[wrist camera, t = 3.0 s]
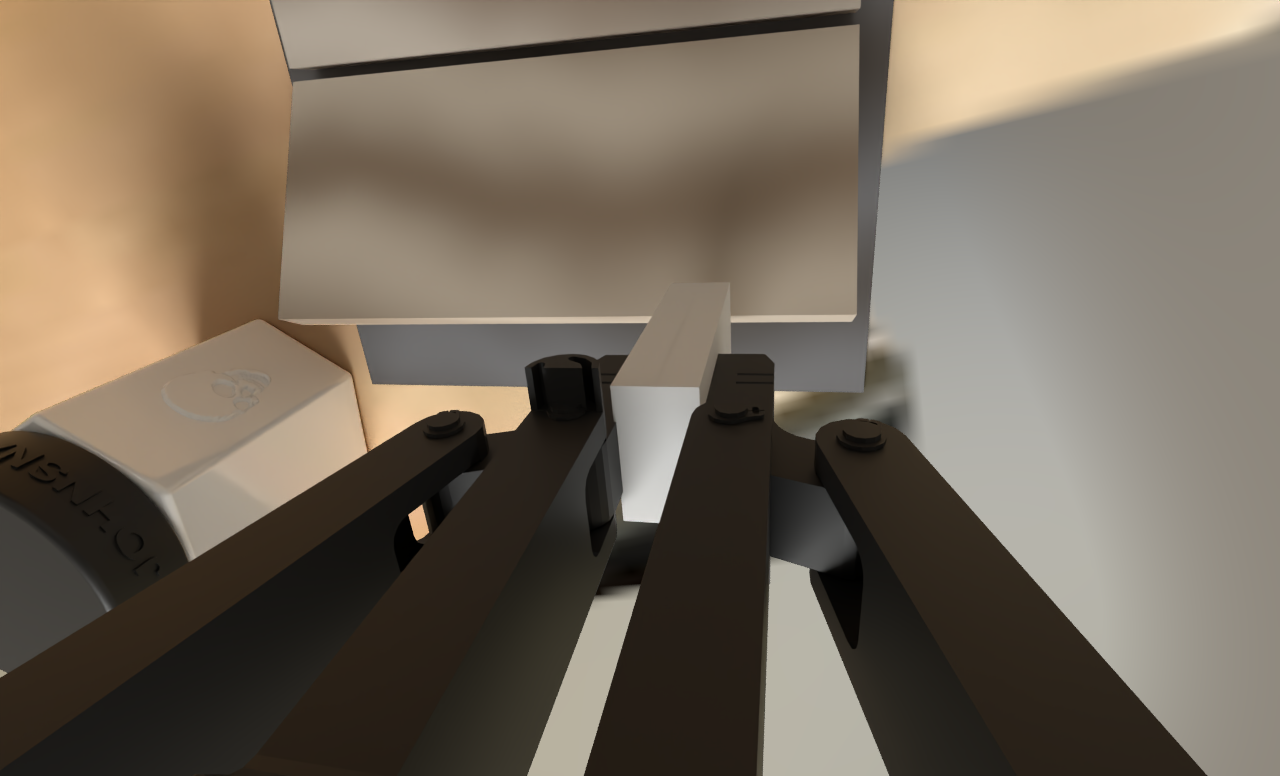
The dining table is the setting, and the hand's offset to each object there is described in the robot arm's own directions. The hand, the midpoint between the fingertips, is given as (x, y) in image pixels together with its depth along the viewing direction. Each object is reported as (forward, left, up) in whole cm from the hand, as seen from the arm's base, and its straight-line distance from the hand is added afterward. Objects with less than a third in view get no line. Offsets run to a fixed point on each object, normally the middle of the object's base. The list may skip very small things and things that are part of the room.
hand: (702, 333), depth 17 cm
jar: (+6, -20, -7) cm, 22 cm away
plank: (-3, -5, -4) cm, 7 cm away
